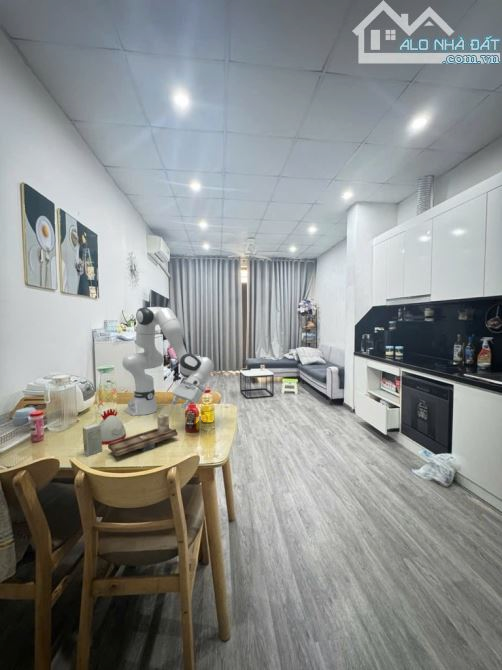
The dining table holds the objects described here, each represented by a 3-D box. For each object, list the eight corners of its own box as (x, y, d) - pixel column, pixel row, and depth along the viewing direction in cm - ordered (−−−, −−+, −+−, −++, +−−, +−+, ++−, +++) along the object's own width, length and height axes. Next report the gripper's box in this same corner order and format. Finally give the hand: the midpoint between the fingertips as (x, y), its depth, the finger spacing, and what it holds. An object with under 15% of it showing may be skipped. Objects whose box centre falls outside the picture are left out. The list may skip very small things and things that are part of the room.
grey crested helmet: (88, 441, 130) (87, 411, 129) (114, 431, 142) (113, 403, 141) (106, 447, 123) (105, 415, 123) (131, 435, 135) (130, 407, 135)
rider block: (165, 429, 133) (164, 414, 132) (169, 431, 130) (168, 415, 129) (157, 432, 130) (157, 416, 129) (161, 434, 127) (161, 418, 127)
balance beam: (166, 433, 137) (166, 424, 137) (177, 440, 129) (177, 430, 129) (108, 453, 117) (107, 442, 117) (117, 462, 109) (116, 450, 109)
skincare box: (98, 448, 122) (97, 422, 122) (102, 451, 119) (101, 424, 119) (83, 453, 117) (82, 426, 117) (86, 456, 114) (85, 429, 114)
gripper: (179, 377, 147) (163, 398, 141) (200, 383, 133) (184, 406, 126) (186, 384, 151) (171, 405, 144) (208, 390, 136) (192, 413, 130)
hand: (177, 406), depth 135 cm, fingers open, 8 cm apart
